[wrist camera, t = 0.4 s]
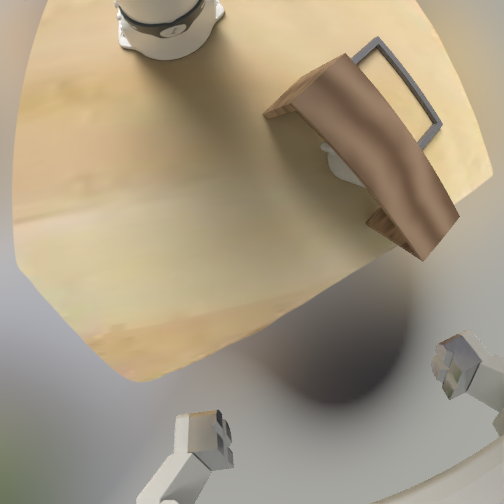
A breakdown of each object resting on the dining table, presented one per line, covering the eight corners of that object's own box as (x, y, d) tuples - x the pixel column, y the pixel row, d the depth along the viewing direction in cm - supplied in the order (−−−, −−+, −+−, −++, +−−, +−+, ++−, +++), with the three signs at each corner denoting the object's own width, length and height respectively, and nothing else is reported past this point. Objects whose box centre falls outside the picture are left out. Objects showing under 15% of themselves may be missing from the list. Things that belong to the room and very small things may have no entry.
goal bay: (398, 172, 55) (402, 173, 54) (324, 83, 47) (327, 81, 46) (438, 124, 53) (443, 124, 51) (374, 38, 45) (378, 36, 43)
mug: (372, 146, 53) (405, 150, 43) (359, 186, 55) (389, 198, 45) (318, 122, 50) (344, 119, 40) (303, 165, 53) (326, 173, 42)
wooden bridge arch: (369, 226, 59) (423, 261, 42) (262, 114, 48) (291, 102, 31) (399, 192, 57) (459, 216, 40) (301, 77, 47) (345, 53, 30)
